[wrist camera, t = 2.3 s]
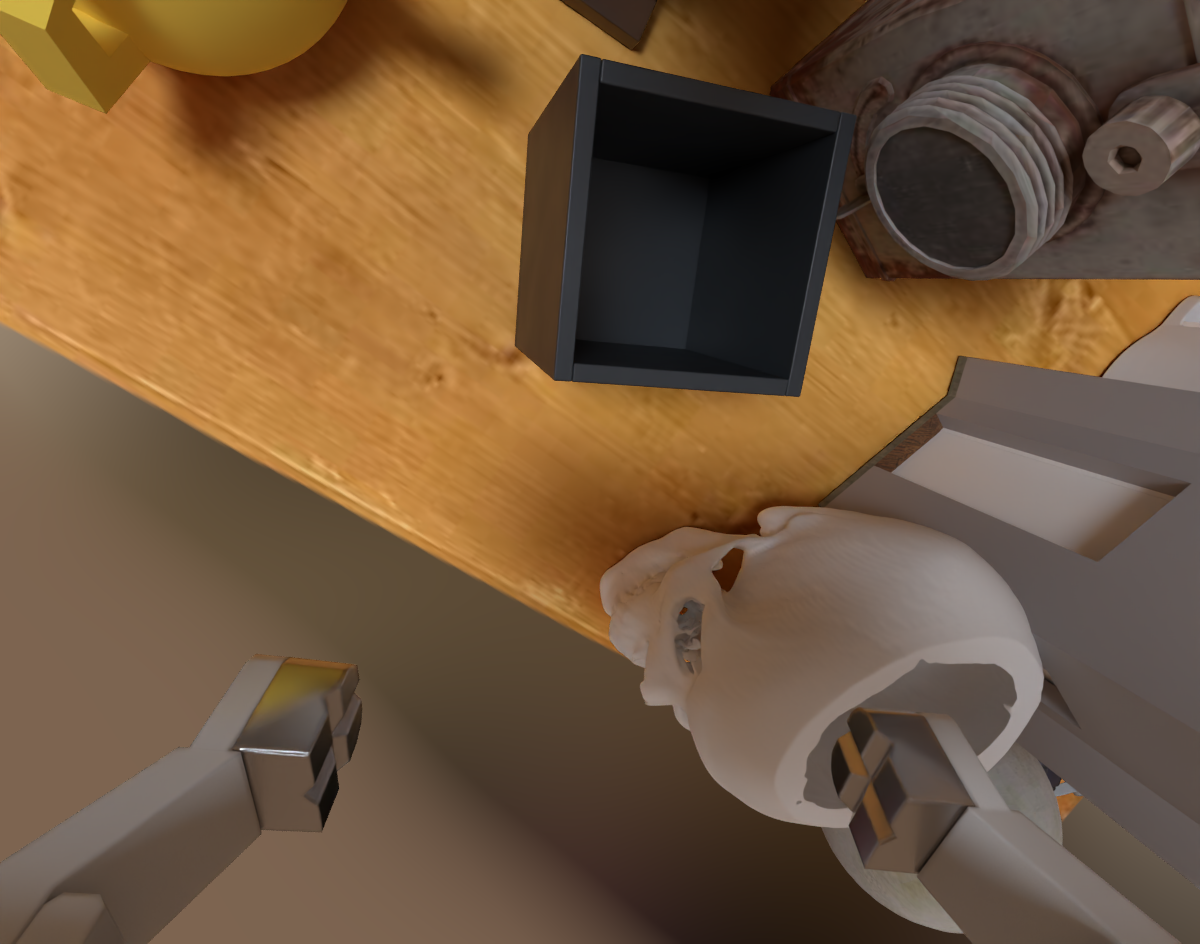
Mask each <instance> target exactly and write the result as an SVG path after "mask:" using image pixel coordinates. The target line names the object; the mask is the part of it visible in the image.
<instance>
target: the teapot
mask: <svg viewBox="0 0 1200 944" xmlns="http://www.w3.org/2000/svg"><path fill="white" fill-rule="evenodd" d="M347 1H348V0H0V34H1V35H2V36H3V37H4V39H5V40H6V41H7V42H8V43H9V45H10V46H11V47H12V48H13V49H14V51H15V52H16V53H17V54H18V55H19V57H20V58H21V59H22V60H23V61H24V63H25V64H26V65H27V66H28V67H29V68H30V70H31V71H32V72H33V73H34V74H35V76H36V77H37V78H38V79H39V80H40V82H41V83H42V84H43V85H44V86H45V88H46V89H47V90H50V91H52V92H55V93H57V94H60V95H62V96H64V97H67V98H69V99H72V100H74V101H76V102H79V103H81V104H84V105H86V106H89V107H91V108H93V109H96V110H98V111H101V112H103V113H105V114H107V112H108V111H109V110H110V109H111V108H112V106H113V105H114V104H115V103H116V102H117V100H118V99H119V98H120V97H121V96H122V94H123V93H124V92H125V91H126V90H127V89H128V87H129V86H130V85H131V84H132V83H133V81H134V80H135V79H136V78H137V77H138V75H139V74H140V73H141V72H142V71H143V69H144V68H145V67H146V66H147V65H148V63H149V62H150V61H151V62H153V63H157V64H160V65H163V66H166V67H169V68H172V69H175V70H179V71H184V72H190V73H195V74H200V75H212V76H237V75H248V74H253V73H257V72H262V71H266V70H270V69H272V68H275V67H277V66H280V65H282V64H285V63H287V62H289V61H291V60H293V59H294V58H296V57H298V56H299V55H301V54H303V53H304V52H306V51H307V50H308V49H309V48H311V47H312V46H313V45H314V44H315V43H316V42H318V41H319V40H320V39H321V38H322V37H323V36H324V35H325V33H326V32H327V31H328V30H329V29H330V27H331V26H332V25H333V24H334V23H335V21H336V20H337V18H338V16H339V15H340V13H341V11H342V10H343V8H344V7H345V5H346V3H347Z"/></svg>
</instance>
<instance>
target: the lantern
mask: <svg viewBox="0 0 1200 944" xmlns="http://www.w3.org/2000/svg"><path fill="white" fill-rule="evenodd" d="M770 96H772V97H776V98H781V99H785V100H790V101H794V102H799V103H803V104H808V105H812V106H817V107H821V108H826V109H830V110H835V111H839V112H840V113H841V112H844V113H849V114H853V115H856V116H857V118H856V123H855V128H854V133H853V138H852V143H851V148H850V152H849V157H848V162H847V167H846V172H845V177H844V182H843V187H842V192H841V197H840V202H839V207H838V212H837V217H836V222H837V223H838V225H839V227H840V229H841V231H842V233H843V235H844V237H845V239H846V240H847V242H848V244H849V246H850V248H851V250H852V252H853V254H854V255H855V257H856V259H857V261H858V263H859V265H860V267H861V269H862V270H863V272H864V274H865V276H866V278H881V280H884V281H894V280H895V279H897V278H911V279H966V280H971V281H975V280H990V279H1181V280H1200V0H868V1H867V2H866V3H865V4H864V5H863V6H862V7H860V8H859V9H858V10H857V11H856V12H855V13H854V14H852V15H851V16H850V17H849V18H848V19H847V20H846V21H845V22H843V23H842V24H841V25H840V26H839V27H838V28H837V29H836V30H834V31H833V32H832V33H831V34H830V35H829V36H828V37H827V38H825V39H824V40H823V41H822V42H821V43H820V44H819V45H817V46H816V47H815V48H814V49H813V50H812V51H811V52H810V53H808V54H807V55H806V56H805V57H804V58H803V59H802V60H801V61H799V62H798V63H797V64H796V65H795V66H794V67H793V68H792V69H790V70H789V71H788V72H787V73H786V74H785V75H784V76H782V77H781V78H780V79H779V80H778V81H777V82H776V83H775V84H773V85H772V86H771V91H770Z"/></svg>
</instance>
